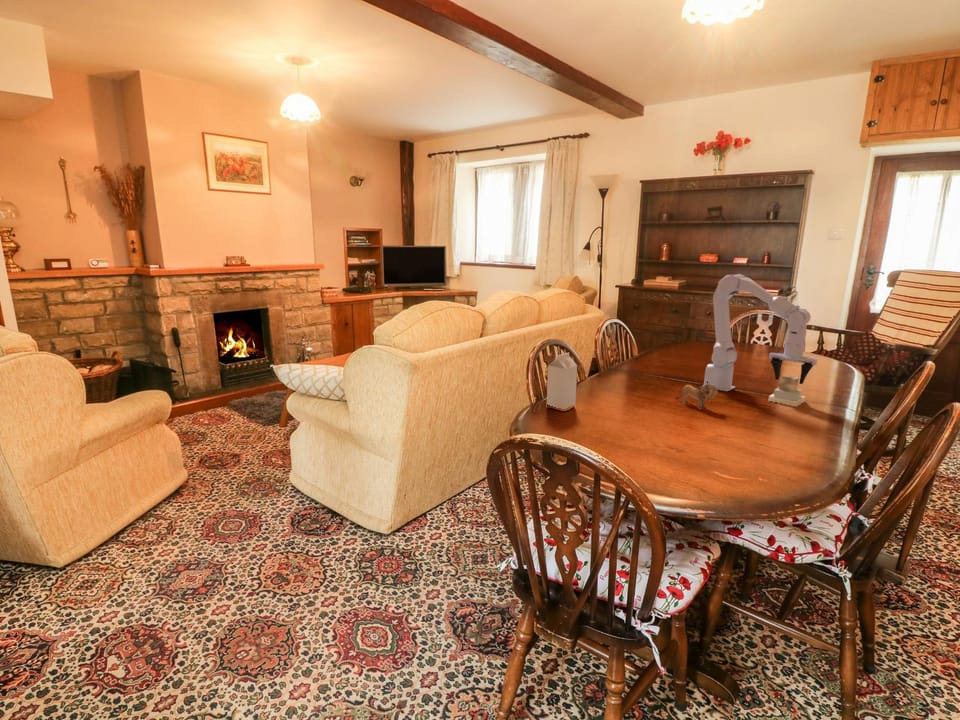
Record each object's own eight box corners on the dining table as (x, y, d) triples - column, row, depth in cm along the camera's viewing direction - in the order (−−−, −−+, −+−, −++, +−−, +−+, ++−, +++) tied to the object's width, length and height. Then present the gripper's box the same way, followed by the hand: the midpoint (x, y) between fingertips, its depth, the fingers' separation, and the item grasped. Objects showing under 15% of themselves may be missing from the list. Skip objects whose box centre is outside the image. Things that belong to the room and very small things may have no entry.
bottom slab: (767, 402, 178) (768, 396, 178) (776, 397, 184) (777, 391, 184) (796, 408, 172) (797, 401, 171) (804, 403, 178) (805, 396, 177)
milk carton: (546, 408, 169) (548, 354, 165) (558, 403, 174) (560, 350, 170) (563, 413, 164) (566, 357, 160) (575, 408, 169) (578, 353, 165)
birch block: (778, 389, 177) (780, 377, 176) (783, 387, 180) (785, 375, 179) (792, 392, 174) (794, 379, 173) (797, 389, 177) (799, 377, 176)
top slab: (773, 396, 177) (774, 389, 176) (778, 392, 182) (779, 386, 181) (795, 400, 172) (797, 394, 172) (800, 396, 177) (801, 390, 176)
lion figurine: (718, 409, 168) (721, 384, 166) (709, 412, 165) (712, 386, 163) (679, 399, 180) (681, 375, 178) (670, 401, 177) (673, 377, 175)
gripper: (768, 342, 176) (762, 379, 179) (815, 348, 165) (809, 387, 168) (774, 339, 180) (769, 375, 183) (821, 345, 170) (815, 383, 173)
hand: (789, 381), depth 176 cm, fingers open, 7 cm apart
